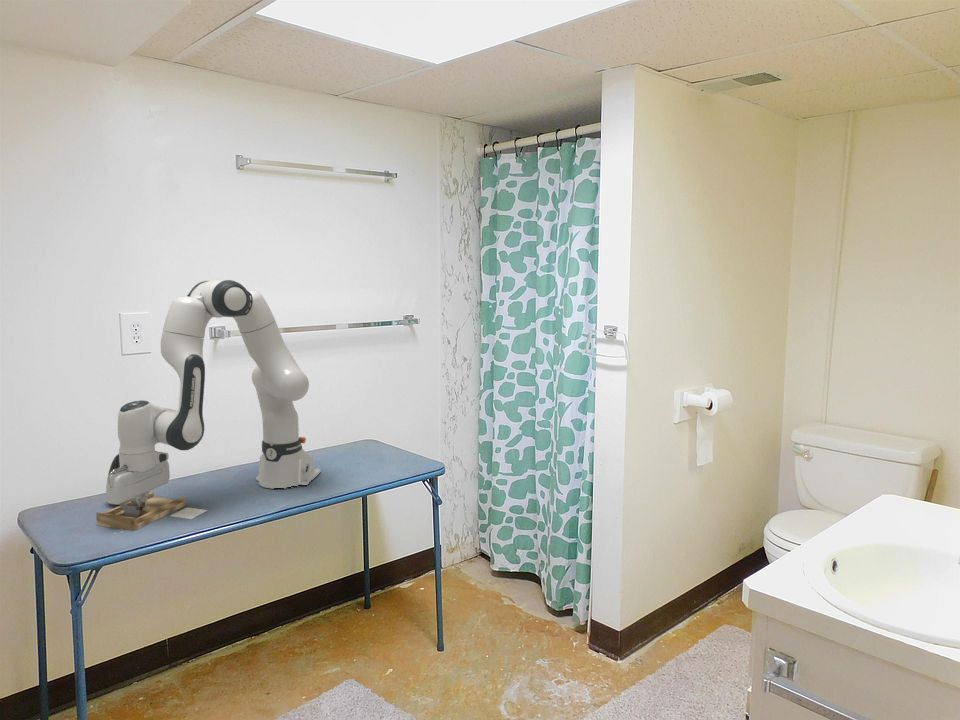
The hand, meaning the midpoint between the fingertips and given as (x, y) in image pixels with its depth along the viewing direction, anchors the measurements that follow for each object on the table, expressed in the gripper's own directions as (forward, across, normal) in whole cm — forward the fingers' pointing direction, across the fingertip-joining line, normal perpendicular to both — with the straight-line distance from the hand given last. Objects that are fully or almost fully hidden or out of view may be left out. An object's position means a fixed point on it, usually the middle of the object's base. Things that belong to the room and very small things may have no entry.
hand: (140, 509), depth 193 cm
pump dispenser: (+3, +10, +14) cm, 18 cm away
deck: (+3, +1, 0) cm, 3 cm away
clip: (+1, -2, 0) cm, 3 cm away
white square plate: (+3, +6, -11) cm, 13 cm away
